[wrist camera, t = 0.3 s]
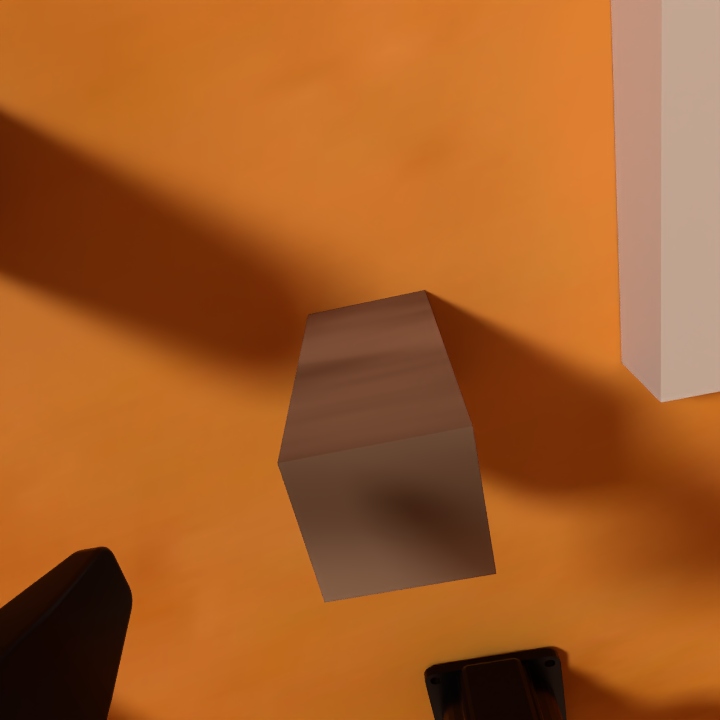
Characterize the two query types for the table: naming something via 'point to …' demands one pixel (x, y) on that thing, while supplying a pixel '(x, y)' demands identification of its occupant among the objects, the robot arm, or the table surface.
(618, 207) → the well block
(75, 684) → the robot arm
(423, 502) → the walnut post
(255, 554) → the table surface
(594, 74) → the table surface
